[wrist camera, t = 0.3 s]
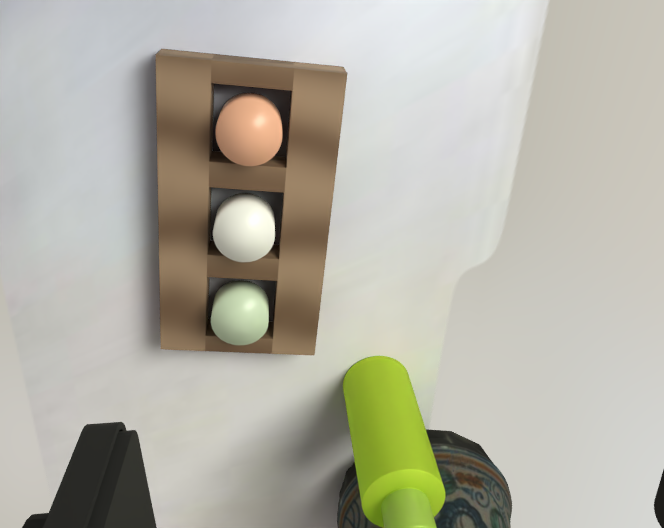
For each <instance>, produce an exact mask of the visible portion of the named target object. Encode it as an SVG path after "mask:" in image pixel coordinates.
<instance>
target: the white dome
mask: <svg viewBox="0 0 664 528" xmlns="http://www.w3.org/2000/svg"><path fill="white" fill-rule="evenodd" d="M213 238H214V242H215V245H216V247H217V248H218V250H219V251H220V252H221V253H222V254H223V255H224V256H226V257H227V258H229V259H231V260H234V261H238V262H252V261H256V260H258V259H260V258H262V257H263V256H265V255H266V254H267V253H268V252H269V251H270V249H271V248H272V246H273V243H274V240H275V217H274V213H273V210H272V208H271V207H270V205H269V204H268V203H267V202H266V201H265V200H264V199H262V198H261V197H259V196H257V195H254V194H250V193H239V194H235V195H233V196H230V197H229V198H227V199H226V200H225V201H224V202H223V203H222V204H221V205H220V207H219V208H218V211H217V214H216V219H215V224H214V229H213Z"/></svg>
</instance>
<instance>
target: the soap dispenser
mask: <svg viewBox="0 0 664 528" xmlns="http://www.w3.org/2000/svg"><path fill="white" fill-rule="evenodd" d="M343 391H344V397H345V404H346V410H347V416H348V422H349V429H350V435H351V441H352V447H353V453H354V460H355V466H356V472H357V478H358V485H359V491H360V497H361V503H362V509H363V512H364V514H365V516H366V517H367V518H368V519H369V520H370V521H371V522H372V523H373V524H375V525H377V526H379V527H382V528H437V527H436V523H435V520H434V517H435V516H436V515H437V514H438V512H439V511H440V510H441V508H442V506H443V504H444V501H445V489H444V486H443V482H442V479H441V476H440V473H439V470H438V467H437V464H436V460H435V457H434V454H433V451H432V448H431V445H430V441H429V438H428V435H427V432H426V429H425V426H424V423H423V419H422V416H421V413H420V410H419V407H418V404H417V401H416V397H415V394H414V391H413V388H412V385H411V382H410V379H409V375H408V372H407V370H406V369H405V367H404V366H403V365H402V364H401V363H400V362H398V361H397V360H395V359H393V358H390V357H385V356H373V357H368V358H365V359H363V360H361V361H359V362H357V363H356V364H354V365H353V366H352V367H351V368H350V369H349V370H348V372H347V373H346V375H345V377H344V381H343Z"/></svg>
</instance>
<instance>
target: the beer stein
mask: <svg viewBox="0 0 664 528" xmlns="http://www.w3.org/2000/svg"><path fill="white" fill-rule="evenodd" d="M426 432H427V435H428V438H429V441H430V445H431V448H432V451H433V454H434V457H435V460H436V464H437V467H438V470H439V473H440V476H441V479H442V482H443V486H444V489H445V501H444V504H443V506H442V508H441V510H440V511H439V512H438V514H437V515H436V516H435V517H434V520H435V523H436V527H437V528H510V518H511V512H512V501H511V495H510V491H509V487H508V484H507V482H506V480H505V478H504V476H503V475H502V473H501V472H500V471H499V469H498V468H497V467H496V466H495V465H494V464H493V462H492V461H491V460H490V459H489V457H488V456H487V454H486V453H485V452H484V450H483V449H482V447H481V446H480V445H479V444H477V443H475V442H473V441H471V440H468V439H466V438H464V437H462V436H460V435H458V434H456V433H454V432H452V431H440V430H426ZM337 523H338V528H382V527H379V526H377V525H375V524H373V523H372V522H371V521H370V520H369V519H368V518H367V517H366V516H365V514H364V512H363V509H362V503H361V497H360V491H359V485H358V478H357V472H356V466H355V462H354V463H353V465H352V466H351V467H350V468H349V469H348V471H347V472H346V475H345V478H344V482H343V485H342V488H341V491H340V500H339V504H338V517H337Z"/></svg>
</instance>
